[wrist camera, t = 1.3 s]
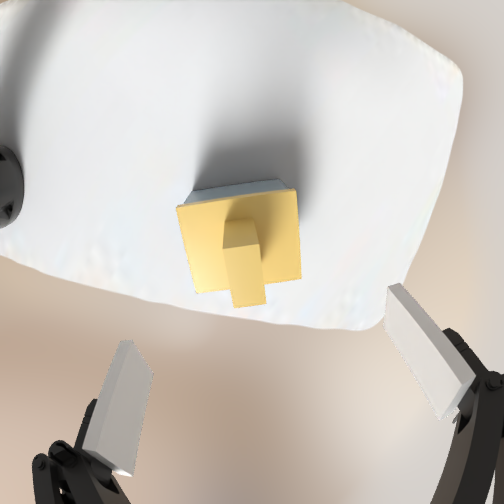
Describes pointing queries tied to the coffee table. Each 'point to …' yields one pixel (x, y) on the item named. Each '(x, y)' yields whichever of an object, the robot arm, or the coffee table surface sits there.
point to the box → (235, 190)
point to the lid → (242, 243)
